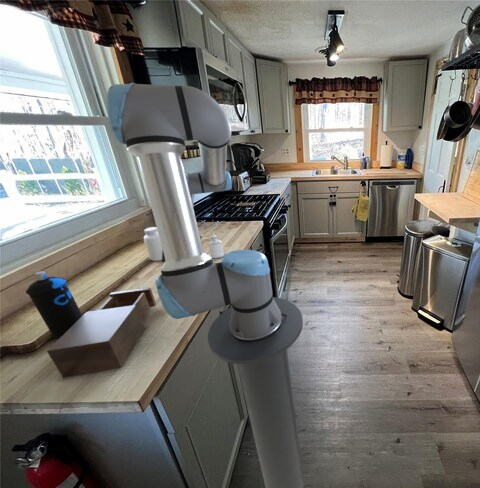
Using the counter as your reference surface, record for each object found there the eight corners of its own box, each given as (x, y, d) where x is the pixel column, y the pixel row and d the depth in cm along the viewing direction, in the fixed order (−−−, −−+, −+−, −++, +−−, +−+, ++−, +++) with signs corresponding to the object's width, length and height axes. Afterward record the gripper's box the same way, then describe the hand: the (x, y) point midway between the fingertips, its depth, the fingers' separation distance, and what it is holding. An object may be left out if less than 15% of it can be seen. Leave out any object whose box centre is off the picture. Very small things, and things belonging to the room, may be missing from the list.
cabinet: (98, 335, 77) (86, 311, 73) (145, 328, 79) (136, 304, 75) (63, 378, 63) (46, 351, 60) (121, 367, 66) (108, 341, 62)
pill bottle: (156, 262, 121) (146, 232, 115) (147, 259, 124) (136, 230, 118) (172, 256, 127) (164, 227, 121) (163, 252, 131) (154, 224, 125)
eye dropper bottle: (221, 258, 122) (216, 235, 117) (210, 258, 123) (204, 235, 118) (225, 254, 126) (220, 231, 121) (215, 254, 127) (209, 231, 122)
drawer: (124, 302, 90) (117, 285, 88) (160, 297, 92) (155, 280, 90) (94, 338, 74) (84, 319, 72) (139, 331, 76) (131, 312, 74)
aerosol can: (45, 342, 75) (9, 283, 67) (60, 324, 82) (29, 269, 74) (80, 333, 78) (50, 276, 70) (91, 317, 85) (65, 263, 77)
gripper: (209, 224, 104) (210, 279, 96) (161, 228, 101) (158, 286, 93) (203, 215, 97) (204, 274, 89) (152, 219, 94) (147, 281, 86)
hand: (180, 280), depth 91 cm, fingers closed on bottle, 5 cm apart
